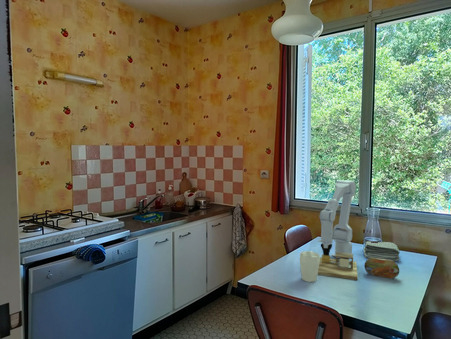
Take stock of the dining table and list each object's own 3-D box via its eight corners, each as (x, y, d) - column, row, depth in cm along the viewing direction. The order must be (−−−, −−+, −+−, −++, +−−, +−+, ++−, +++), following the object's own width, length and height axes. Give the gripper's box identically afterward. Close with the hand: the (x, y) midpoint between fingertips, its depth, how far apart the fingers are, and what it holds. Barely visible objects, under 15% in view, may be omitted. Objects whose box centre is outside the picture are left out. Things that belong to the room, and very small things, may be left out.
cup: (308, 284, 138) (309, 258, 137) (295, 277, 146) (295, 252, 145) (323, 281, 142) (324, 255, 141) (309, 274, 150) (310, 250, 149)
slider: (322, 261, 164) (322, 254, 163) (350, 264, 158) (350, 257, 158) (321, 264, 158) (321, 257, 158) (350, 268, 153) (350, 261, 153)
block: (339, 263, 159) (339, 255, 159) (348, 264, 158) (348, 256, 157) (339, 265, 155) (339, 258, 155) (348, 267, 154) (349, 259, 154)
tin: (364, 274, 151) (364, 257, 150) (364, 272, 153) (364, 255, 153) (399, 280, 144) (399, 262, 143) (398, 277, 146) (399, 260, 146)
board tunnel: (319, 259, 171) (319, 246, 170) (356, 264, 164) (356, 250, 163) (315, 273, 150) (315, 258, 150) (357, 280, 143) (358, 264, 143)
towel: (400, 262, 168) (400, 248, 167) (363, 258, 175) (363, 244, 174) (397, 254, 181) (397, 241, 181) (363, 250, 189) (363, 238, 188)
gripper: (320, 228, 171) (319, 252, 172) (317, 235, 157) (317, 261, 158) (333, 230, 168) (332, 254, 169) (332, 236, 155) (331, 262, 156)
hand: (326, 257), depth 163 cm, fingers closed
